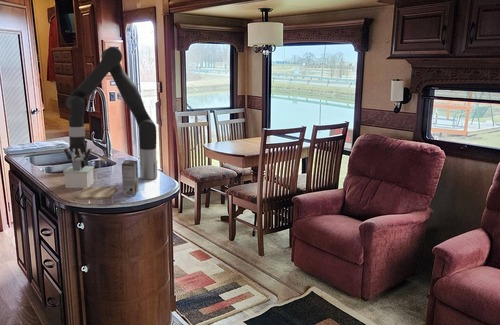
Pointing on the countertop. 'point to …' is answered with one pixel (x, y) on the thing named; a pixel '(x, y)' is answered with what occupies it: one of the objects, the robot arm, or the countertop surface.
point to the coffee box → (130, 178)
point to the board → (96, 193)
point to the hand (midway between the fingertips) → (78, 167)
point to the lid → (78, 167)
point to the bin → (78, 180)
